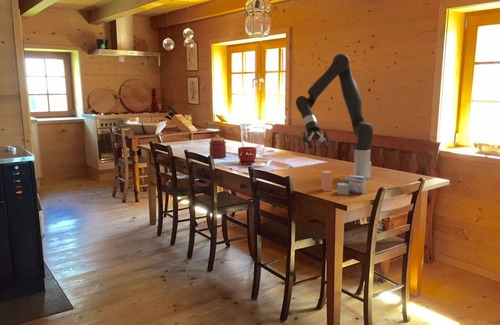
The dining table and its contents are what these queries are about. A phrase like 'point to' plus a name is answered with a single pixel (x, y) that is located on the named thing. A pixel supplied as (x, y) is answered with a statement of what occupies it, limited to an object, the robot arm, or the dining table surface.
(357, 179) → the medicine box
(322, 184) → the terracotta block
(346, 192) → the slate blue cube
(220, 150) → the canister
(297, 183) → the dining table surface
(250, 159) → the plant pot
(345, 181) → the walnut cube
